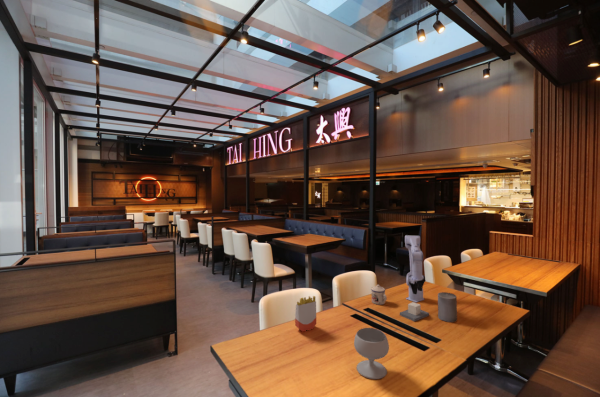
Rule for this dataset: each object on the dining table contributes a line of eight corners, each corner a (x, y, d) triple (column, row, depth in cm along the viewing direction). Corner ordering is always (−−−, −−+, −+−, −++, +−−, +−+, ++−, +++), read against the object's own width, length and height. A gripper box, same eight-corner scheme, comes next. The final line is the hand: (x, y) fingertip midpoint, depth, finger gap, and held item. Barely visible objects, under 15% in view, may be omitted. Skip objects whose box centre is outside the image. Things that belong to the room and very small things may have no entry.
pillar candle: (452, 315, 164) (451, 290, 163) (460, 322, 154) (459, 296, 154) (435, 314, 165) (434, 289, 164) (442, 322, 155) (441, 295, 155)
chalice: (382, 359, 122) (382, 325, 121) (394, 381, 108) (394, 343, 107) (351, 360, 121) (350, 326, 121) (358, 382, 107) (358, 344, 107)
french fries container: (295, 329, 149) (294, 296, 149) (312, 324, 154) (311, 293, 154) (298, 333, 145) (298, 299, 145) (316, 328, 150) (316, 295, 150)
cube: (412, 310, 168) (412, 302, 167) (420, 313, 164) (420, 304, 164) (408, 312, 165) (408, 304, 164) (416, 315, 161) (416, 306, 160)
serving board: (414, 309, 172) (414, 307, 172) (429, 315, 163) (429, 313, 163) (399, 315, 165) (399, 312, 165) (414, 321, 156) (414, 319, 156)
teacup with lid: (368, 301, 186) (368, 284, 186) (378, 298, 190) (378, 282, 190) (380, 307, 176) (380, 289, 175) (391, 305, 179) (391, 287, 179)
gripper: (415, 267, 181) (415, 287, 181) (405, 271, 171) (406, 293, 171) (426, 269, 176) (426, 290, 176) (417, 274, 166) (417, 296, 166)
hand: (417, 292), depth 173 cm, fingers open, 7 cm apart
